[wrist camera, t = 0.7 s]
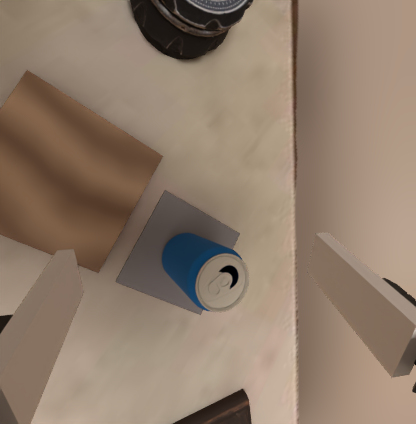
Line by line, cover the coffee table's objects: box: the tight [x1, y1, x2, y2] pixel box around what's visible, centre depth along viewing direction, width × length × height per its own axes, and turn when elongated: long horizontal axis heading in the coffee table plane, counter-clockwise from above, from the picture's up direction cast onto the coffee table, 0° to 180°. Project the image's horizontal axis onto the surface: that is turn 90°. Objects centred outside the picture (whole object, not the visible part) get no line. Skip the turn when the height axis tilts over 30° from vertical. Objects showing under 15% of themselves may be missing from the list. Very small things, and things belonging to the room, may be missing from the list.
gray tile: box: [116, 191, 240, 315], centre depth 35 cm, size 13×13×1 cm
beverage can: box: [162, 233, 249, 312], centre depth 30 cm, size 6×6×12 cm
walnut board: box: [0, 70, 163, 272], centre depth 29 cm, size 16×16×1 cm
